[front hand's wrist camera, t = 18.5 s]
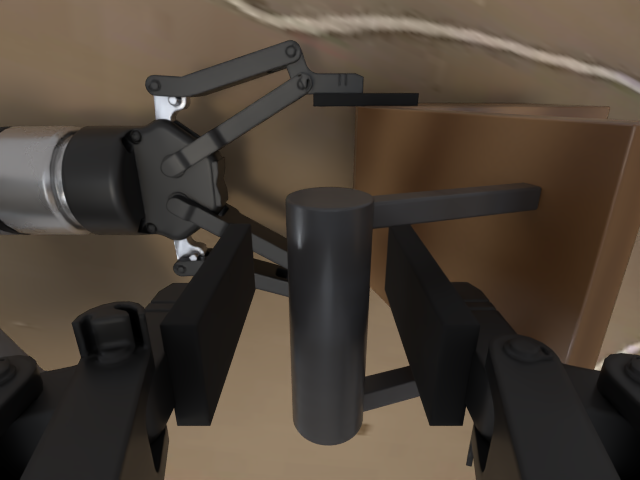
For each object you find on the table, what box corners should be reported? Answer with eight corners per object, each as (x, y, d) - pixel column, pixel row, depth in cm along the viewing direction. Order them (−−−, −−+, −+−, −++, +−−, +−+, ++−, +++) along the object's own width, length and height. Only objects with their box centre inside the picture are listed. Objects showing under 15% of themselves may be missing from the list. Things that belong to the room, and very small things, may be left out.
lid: (674, 122, 9) (318, 133, 6) (569, 448, 12) (319, 543, 10) (377, 106, 22) (225, 108, 19) (369, 266, 25) (240, 285, 23)
